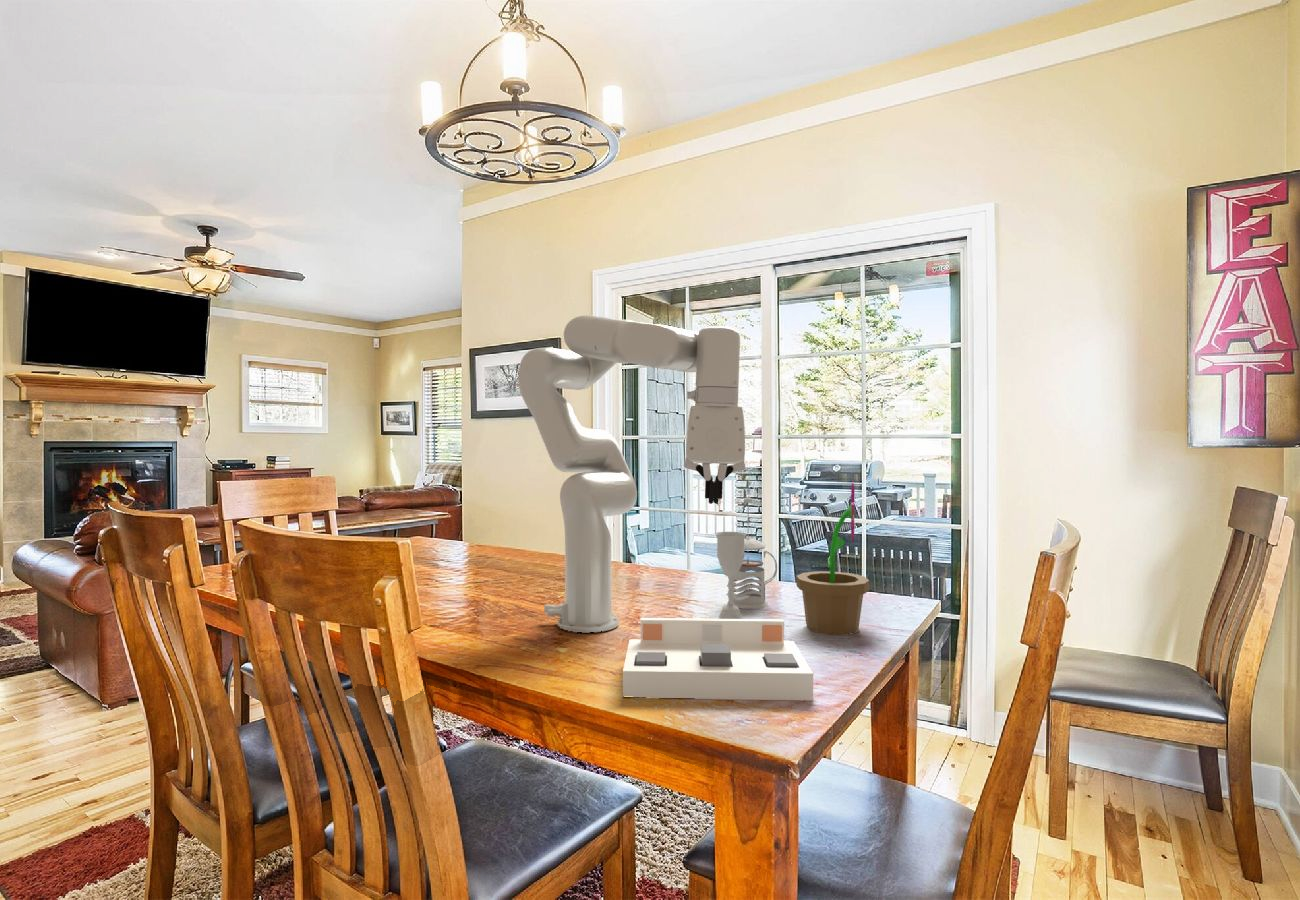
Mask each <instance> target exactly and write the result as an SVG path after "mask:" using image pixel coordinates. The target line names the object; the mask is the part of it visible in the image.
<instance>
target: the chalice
mask: <svg viewBox="0 0 1300 900" xmlns="http://www.w3.org/2000/svg"><path fill="white" fill-rule="evenodd" d="M714 535H715V537H716V543H717V545H716V546H717V547H716V551H717V553H716V555H717V559H718V564H719V566H720V568H721V570H722V573H723V575H724V576H726V577H727V578H728V579H727V581H728V583H727V585H726V587H727V589H728V592H727V593H726V596H727V598H728V601H727V602H728V603H727V602H726V604H725V605H723V606H722V608H721V610H720V613H719V615H718V618H719V619H743V615H742V614H741V611H740V608H738V606H736V605H734V603H733V596H734V595H735V594H736V593H735V592H734V593H735V594H734V593H733V587H734V585H733V577H734V576H736V575H737V574H738V572H739V569H740V567H741V565H742V562H743V560H745V559H744V558H745V550H744V539H746V538H747V536H748V533H745V532H739V531H719V532H716V533H714ZM734 588H735V587H734Z"/></svg>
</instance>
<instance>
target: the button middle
mask: <svg viewBox="0 0 1300 900" xmlns="http://www.w3.org/2000/svg"><path fill="white" fill-rule="evenodd" d="M701 666H707V667H731V651H730V648H729V644H701Z"/></svg>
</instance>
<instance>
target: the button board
mask: <svg viewBox="0 0 1300 900" xmlns="http://www.w3.org/2000/svg"><path fill="white" fill-rule="evenodd" d="M628 641H629V642H628V646H627V650H626V655H625V660H624V664H623V668H622V669H623V670H622V697H623V696H633V697H652V698H651V699H659V698H695V699H694V700H733V701H734V700H738V701H739V700H741V701H744V700H745V701H746V700H747V701H749V700H750V701H804V700H805V702H806V701H811V702H812V701H814V672H813V671H812V669H811V668H810V666H809V664H808V662H807V661H806V659H805V657H804V656H803V655H802V653H801V651H800V650H799V647H798V646H797V645H796V643H795V641H794V640H785V621H784V619H782V618H780V619H773V618H772V619H771V618H769V619H768V618H765V619H764V618H762V619H761V618H741V619H722V618H687V617H686V618H682V617H681V618H676V617H675V618H674V617H673V618H671V617H670V618H667V617H666V618H665V617H664V618H663V617H662V618H661V617H656V618H655V617H640V638H639V639H636V638H629V640H628ZM701 644H729V648H730V651H731V667H707V666H701ZM637 652H665V666H636V658H637ZM764 653H775V654H793V656H794V658H795V660H796V661H797V668H789V667H766V665H765V663H764Z"/></svg>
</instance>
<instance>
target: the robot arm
mask: <svg viewBox="0 0 1300 900" xmlns="http://www.w3.org/2000/svg"><path fill="white" fill-rule="evenodd" d="M563 341H564V343H565V345H566V347H567V348H568V349H569V350H568V349H564V348H562V349H561V348H554V347H538V348H534V349H531V350H529V351H528V352H526V353H525V354H524V355H523V357H522V359H521V361H520V363H519V366H518V374H517V378H518V380H517V381H518V389H519V392H520V394H521V397H522V399H523V401H524V404H525V405H526V407H527V409H528V410H529V412H530V413H531V416H532V418H533V420H534V421H535V423H536V427H537V428H538V432H539V434H540V437H541V439H542V441H543V444H544V446H545V449H546V451H547V453H548V456H549V458H550V461H551V462H552V464H553V466H554V467H555V468H556V470H558V471H560V472H563V473H574V474H573V475H570V476H569V477H568V478H567V479H565V481H563V483H562V485H561V488H560V493H559V501H560V506H561V512H562V518H563V526H564V555H565V556H564V558H565V559H564V565H565V566H564V568H565V569H564V572H565V573H564V575H565V578H564V579H565V580H564V581H565V582H564V583H565V585H564V587H565V588H564V592H565V593H564V594H565V595H564V602H563V603H562V602H561V603H559V604H557V605H555V604H544V608H543V609H544V611H543V613H544V615H547V616H549V617H555V616H558V617H559V618H558V619H557V627H558V626H559V627H560V628H559V627H558V628H559V629H561V628H562V629H564V630H563V631H565V630H568V631H567V632H570V631H573V632H572V633H577V632H582V633H581V634H591V633H590V632H594V633H600V632H601V631H602V632H607V631H610V630H614V629H615V628H617V627H618V626H619V625H620V619H619V617H618V616H617V615H615V614H612V537H611V533H610V530H609V527H608V526H607V524H606V521H605V518H606V517H611V516H612V517H613V516H619V515H624V514H627V513H628V512H631V510H632V509H633V508H634V507H635V505H636V504H637V498H638V490H637V485H636V481H635V479H634V476H633V474H632V472H631V470H630V467H629V466H628V464H627V462H626V461H627V460H626V459H625V457H624V454H623V452H622V451H621V448H620V446H619V444H618V442H617V441H616V439H615V437H614V436H613V435H611V433H609V432H608V431H606V430H604V429H600V428H592V427H591V428H590V427H589V428H588V427H584V426H582V424H581V423H580V422H579V419H578V417H577V416H576V414H575V410H574V408H573V407H572V405H571V404H570V402H569V401H568V400H567V399H566V398H565V397H564V396H563V395H562V394H561V393H560V392H559V391H558V389H565V390H575V391H582V390H585V389H588V388H590V387H591V386H593V385H594V384H596V383H597V382H598V381H599V380H600V379H601V378H602V377H603V376H604V375H605V374H607V372H609V371H610V370H611V369H612V368H613V367H614V366H615V365H617V364H623V365H627V364H631V365H632V364H633V365H639V366H644V367H650V368H656V369H661V370H670V371H671V370H672V371H678V372H685V373H695V389H693V390H691V391H687V392H686V393H687V394H686V399H687V400H691V401H693V402H694V405H691V406H690V410H689V414H688V420H687V430H686V439H685V440H686V441H685V442H686V443H685V456H686V457H685V461H684V464H683V467H684V468H685V469H688V470H692V471H696V472H697V473H698V474H699V475H700V476H701V477H702V478H703V479H704V480H705V481H704V482H705V485H704V499H708V504H709V505H710V504H716V505H719V500H723V488H724V487H723V484H724V483H723V482H724V480H725V479H726V478H728V476H730V475H731V474H732V473H734V472H735V473H736V472H739V471H743V470H744V471H745V469H746V463H745V456H746V455H745V454H746V433H745V432H746V431H745V430H746V429H745V426H746V425H745V418H744V417H745V415H744V409H743V407H742V406H739V383H740V381H739V380H740V355H741V353H740V352H741V351H740V349H741V336H740V333H739V331H738V330H737V329H735V328H733V327H730V326H729V327H728V326H706V327H703V328H701V329H700V330H699V331H692V330H689V329H688V330H687V329H684V328H678V327H674V326H668V325H663V324H656V323H647V322H638V321H634V320H631V319H623V318H622V319H621V318H612V317H606V316H605V317H604V316H595V315H580V316H575V317H574V318H572V319H570V320H569V321H568V323H567V324H566V325H565V327H564V330H563ZM701 464H702V465H701ZM710 464H718V468H717V469H718V470H717V475H716V476H715V479H714V480H713V478H714V477H713V476H712V472H711V465H710ZM604 517H605V518H604ZM562 629H561V630H562Z"/></svg>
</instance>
